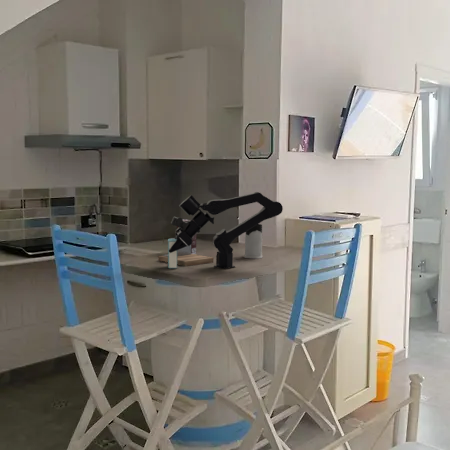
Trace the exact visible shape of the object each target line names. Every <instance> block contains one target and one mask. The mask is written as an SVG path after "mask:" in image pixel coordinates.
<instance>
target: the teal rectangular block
mask: <svg viewBox="0 0 450 450" xmlns="http://www.w3.org/2000/svg"><path fill="white" fill-rule="evenodd" d="M175 241H176V239H169V238H168V239H167V254H168V263H167V268H168V269H178V265H177V250H176V251H174V252H172V253H170V252H169V250H170V248H171V247H172V245H173V244H174V243H175Z"/></svg>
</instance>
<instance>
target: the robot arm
mask: <svg viewBox="0 0 450 450" xmlns="http://www.w3.org/2000/svg"><path fill="white" fill-rule="evenodd" d="M254 203H258V204H260V206H263V207H262V208H261V209H260V210H259V211H258V212H257V213H255V214H253V215H251V216H250V217H249V218H247V219H245V220H243V221H242V222H241V223H239V224H238V225H236V226H234V227H232V228H230V229H229V230H226V228H222V229H221V230H220V231H219V232H216V233H215V235H214V236H213V237H212V245H213V246H214V247H215V249H217V251H216V256H215V257H216V258H215V265H213V267H214V268H219V269H225V270H226V269H232V268H236V265H233V263H234V260H233V259H234V257H233V256H234V254H233V251H234V248H233V247H232V246H231V244H232V243H234V242H233V241H235V239H236V238H238V237H240V236H242V235H243V234H246V231H248V230H249V229H251V228H253V227H254V226H256V225H257V224H262V222H263V221H266V220H269V219H273V218H275V217H277V216H279V215H281V214H282V213H283V210H284V208H283V205H282V203H281V202H279V201H276V200H271V199H270V198H269V197H266V196H265V195H263V194H262V193H261V192H260V191H259V192H258V191H256V192H253V193H249V194H244V195H240V196H239V195H238V196H236V197H230V198H225V199H223V198H222V199H210V200H208V201H207V202H206V203H205V202H204V203H199V201H198V200H196V198H195V197H194V196H193V195H192V194H191V195H189V196H187V198H186V199H184V200H183V201H182V202H181V203H180V204H179V205H178V206H179V208H181V210H183V212H185V214H186V215H187V216H191V217H192V218H191V219H187V220H188V221H187V222H185V221H183V220H184V219H183V218H182V217H180V216H178V217H176V216H173V217H172V219H171V221H170V224H171V225H172V226H176V229H175V232H174V234H175V235H174V236H175V237H174V238H175V239H176V241H175V243H174V244H173V245H172V247H171V248H170V250H169V252H170V253H172V252H174V251H176V250H179V249H181V248H184V247H187V245H188V246H190V245H191V244H192V239H193V237H194V236H195V235H196V234H197V235H198V233H200V232H201V230H202V229H203V228H204V227H205V226H206V225H207V224H208V223H209V222H210V223H211V224H212V225H214V224H215V221H214V220H215V217H214V216H217V215H219V214H221V213H224V212H225V211H227V210H229V209H233V208H237V207H241V206H246V205H250V204H254ZM201 209H202V210H203V211H207V212H203V211H202V210H201ZM210 214H211V215H213V216H211V215H210ZM193 220H194V221H193ZM177 227H179V228H178V229H177ZM177 232H178V233H177ZM186 244H187V245H186Z"/></svg>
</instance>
